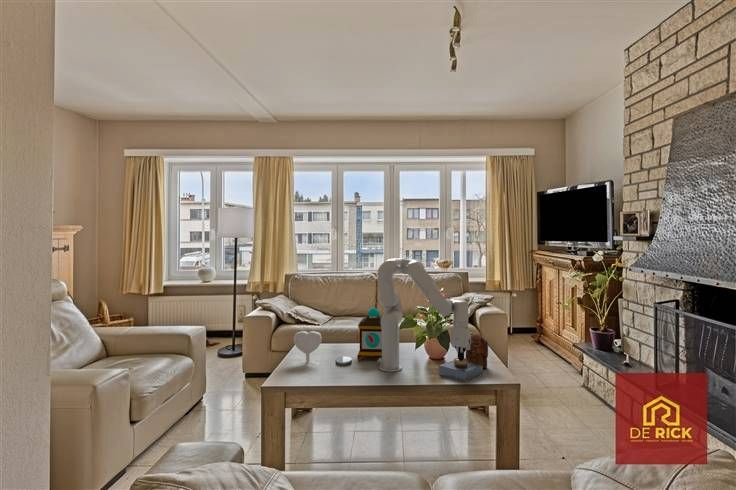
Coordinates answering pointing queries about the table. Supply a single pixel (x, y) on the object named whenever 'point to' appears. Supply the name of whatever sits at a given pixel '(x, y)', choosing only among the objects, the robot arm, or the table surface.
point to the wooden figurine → (478, 351)
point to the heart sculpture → (307, 344)
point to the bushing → (460, 362)
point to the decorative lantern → (370, 335)
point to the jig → (460, 371)
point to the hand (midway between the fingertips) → (460, 359)
